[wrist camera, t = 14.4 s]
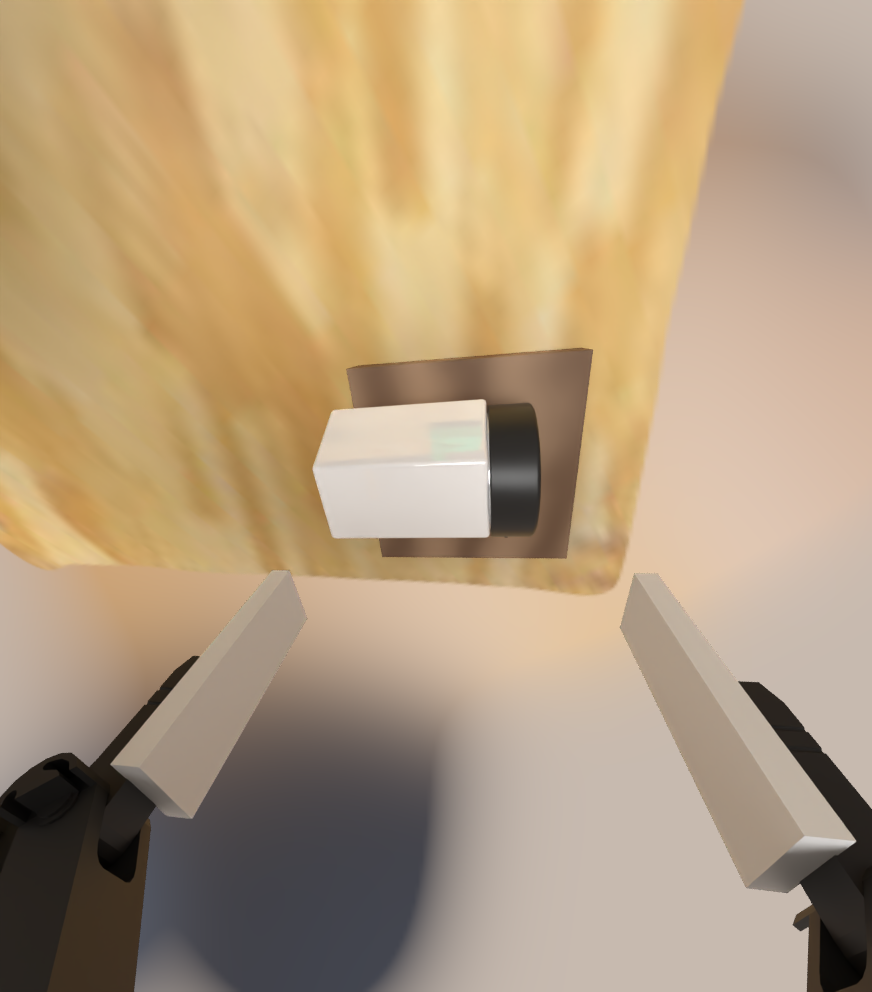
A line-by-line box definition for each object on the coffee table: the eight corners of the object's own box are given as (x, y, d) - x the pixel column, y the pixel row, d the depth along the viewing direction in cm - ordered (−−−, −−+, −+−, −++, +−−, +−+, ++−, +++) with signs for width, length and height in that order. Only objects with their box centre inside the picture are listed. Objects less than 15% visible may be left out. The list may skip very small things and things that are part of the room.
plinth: (389, 540, 31) (382, 556, 29) (358, 365, 24) (346, 369, 22) (559, 541, 29) (566, 558, 27) (581, 347, 22) (592, 349, 20)
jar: (354, 563, 22) (530, 564, 21) (296, 502, 16) (549, 496, 14) (375, 462, 27) (519, 456, 25) (337, 383, 20) (530, 367, 19)
